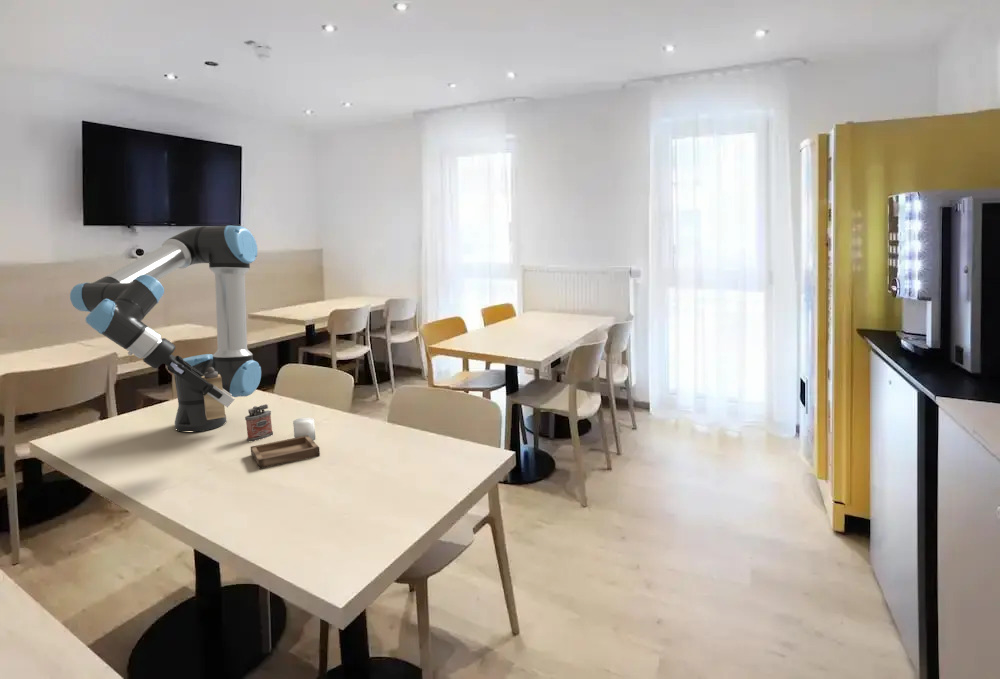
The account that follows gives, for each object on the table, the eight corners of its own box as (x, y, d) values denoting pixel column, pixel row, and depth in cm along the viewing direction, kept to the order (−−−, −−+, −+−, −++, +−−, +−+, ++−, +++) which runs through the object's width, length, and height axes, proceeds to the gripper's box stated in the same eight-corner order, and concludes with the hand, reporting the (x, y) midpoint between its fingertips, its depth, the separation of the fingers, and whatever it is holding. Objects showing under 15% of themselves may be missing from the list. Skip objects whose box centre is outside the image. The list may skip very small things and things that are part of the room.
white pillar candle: (292, 438, 176) (291, 419, 175) (312, 434, 179) (311, 416, 178) (297, 444, 171) (295, 425, 170) (317, 440, 174) (316, 421, 173)
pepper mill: (205, 415, 156) (200, 366, 154) (223, 413, 158) (218, 364, 156) (207, 420, 152) (202, 369, 150) (225, 417, 155) (220, 367, 152)
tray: (251, 455, 163) (250, 446, 163) (308, 443, 172) (308, 435, 171) (259, 469, 153) (258, 460, 153) (319, 455, 162) (319, 447, 161)
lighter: (251, 442, 173) (247, 410, 171) (245, 440, 175) (241, 408, 173) (275, 434, 180) (272, 403, 178) (269, 432, 182) (266, 402, 180)
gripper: (141, 353, 152) (216, 404, 163) (141, 366, 137) (223, 420, 149) (162, 332, 153) (234, 383, 165) (164, 342, 139) (244, 397, 150)
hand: (229, 400), depth 157 cm, fingers closed on pepper mill, 4 cm apart
